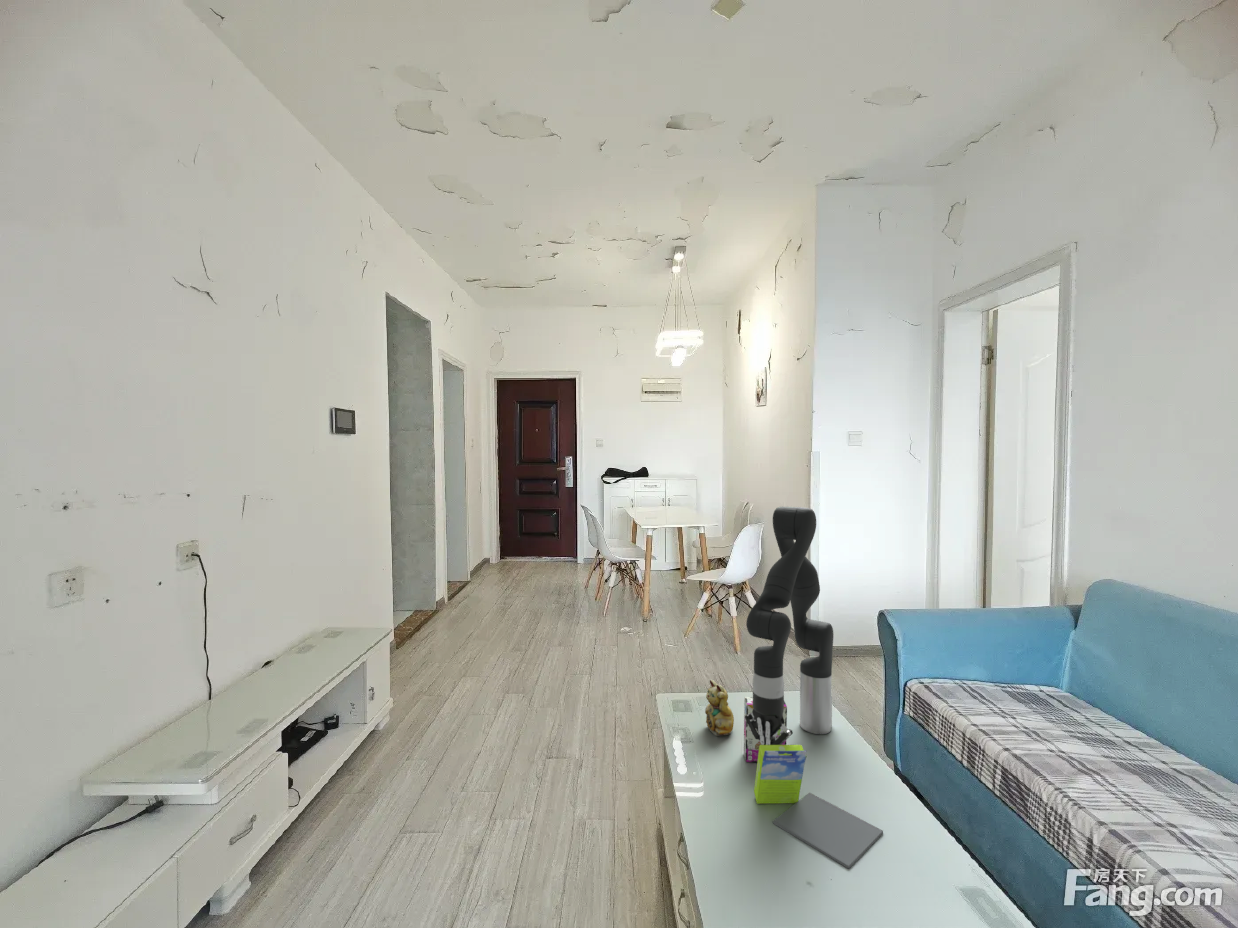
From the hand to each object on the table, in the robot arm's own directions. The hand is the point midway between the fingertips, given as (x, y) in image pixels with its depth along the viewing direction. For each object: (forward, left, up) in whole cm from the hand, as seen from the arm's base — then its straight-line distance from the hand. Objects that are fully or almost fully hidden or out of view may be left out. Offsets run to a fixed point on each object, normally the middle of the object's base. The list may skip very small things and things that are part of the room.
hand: (767, 759), depth 135 cm
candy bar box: (-13, -10, -9) cm, 19 cm away
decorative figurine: (-16, -28, -9) cm, 33 cm away
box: (0, +2, -9) cm, 9 cm away
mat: (0, +16, -9) cm, 18 cm away
